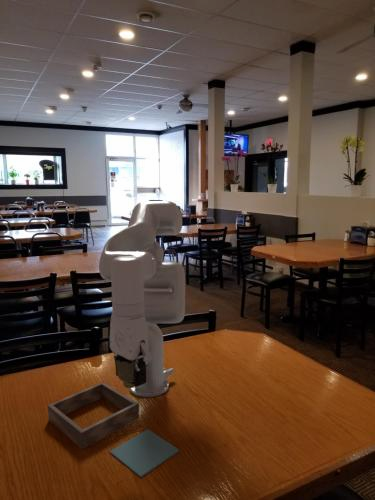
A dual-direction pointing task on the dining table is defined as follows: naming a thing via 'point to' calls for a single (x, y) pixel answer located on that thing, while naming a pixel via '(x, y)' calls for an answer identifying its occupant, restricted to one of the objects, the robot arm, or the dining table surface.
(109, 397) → the grey square frame
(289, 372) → the dining table surface
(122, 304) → the robot arm
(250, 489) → the dining table surface
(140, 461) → the light blue square plate
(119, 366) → the dark rounded piece
